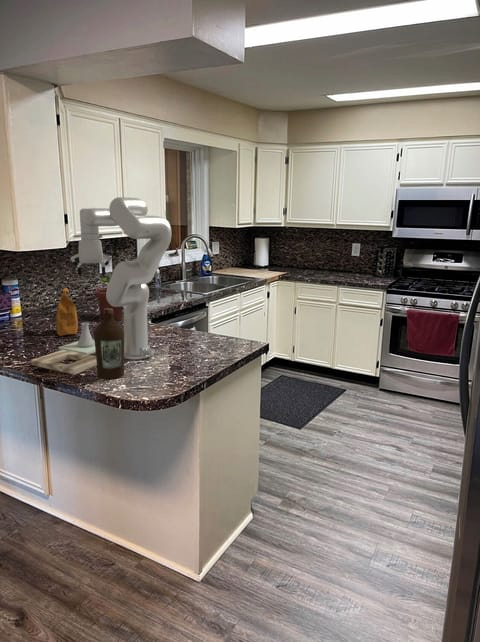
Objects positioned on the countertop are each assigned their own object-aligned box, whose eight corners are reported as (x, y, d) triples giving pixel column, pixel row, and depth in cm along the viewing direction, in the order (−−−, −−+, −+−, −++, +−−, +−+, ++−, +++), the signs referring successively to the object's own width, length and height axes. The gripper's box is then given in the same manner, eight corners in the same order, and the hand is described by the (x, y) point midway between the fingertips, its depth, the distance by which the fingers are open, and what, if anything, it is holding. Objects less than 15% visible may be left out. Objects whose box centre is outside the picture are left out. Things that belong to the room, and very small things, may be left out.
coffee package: (78, 329, 233) (76, 286, 228) (78, 335, 221) (75, 290, 216) (57, 330, 230) (54, 287, 225) (56, 337, 218) (52, 291, 213)
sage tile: (112, 345, 206) (112, 343, 206) (86, 355, 192) (86, 352, 192) (85, 340, 213) (85, 338, 213) (58, 349, 199) (58, 347, 199)
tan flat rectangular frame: (104, 362, 183) (104, 357, 183) (74, 374, 169) (73, 369, 169) (63, 354, 193) (63, 349, 192) (31, 365, 178) (31, 360, 178)
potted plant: (125, 314, 268) (124, 272, 262) (134, 323, 249) (132, 277, 243) (94, 317, 261) (91, 273, 255) (100, 325, 242) (98, 278, 236)
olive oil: (94, 372, 172) (91, 307, 167) (123, 369, 177) (120, 305, 171) (97, 381, 163) (94, 313, 157) (128, 378, 167) (125, 311, 161)
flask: (88, 342, 207) (87, 320, 205) (98, 345, 203) (97, 323, 201) (74, 345, 202) (72, 323, 200) (83, 348, 197) (82, 326, 195)
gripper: (109, 237, 209) (111, 274, 213) (69, 236, 203) (71, 275, 207) (110, 238, 202) (112, 276, 206) (69, 237, 196) (71, 277, 200)
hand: (91, 276), depth 206 cm, fingers open, 9 cm apart
